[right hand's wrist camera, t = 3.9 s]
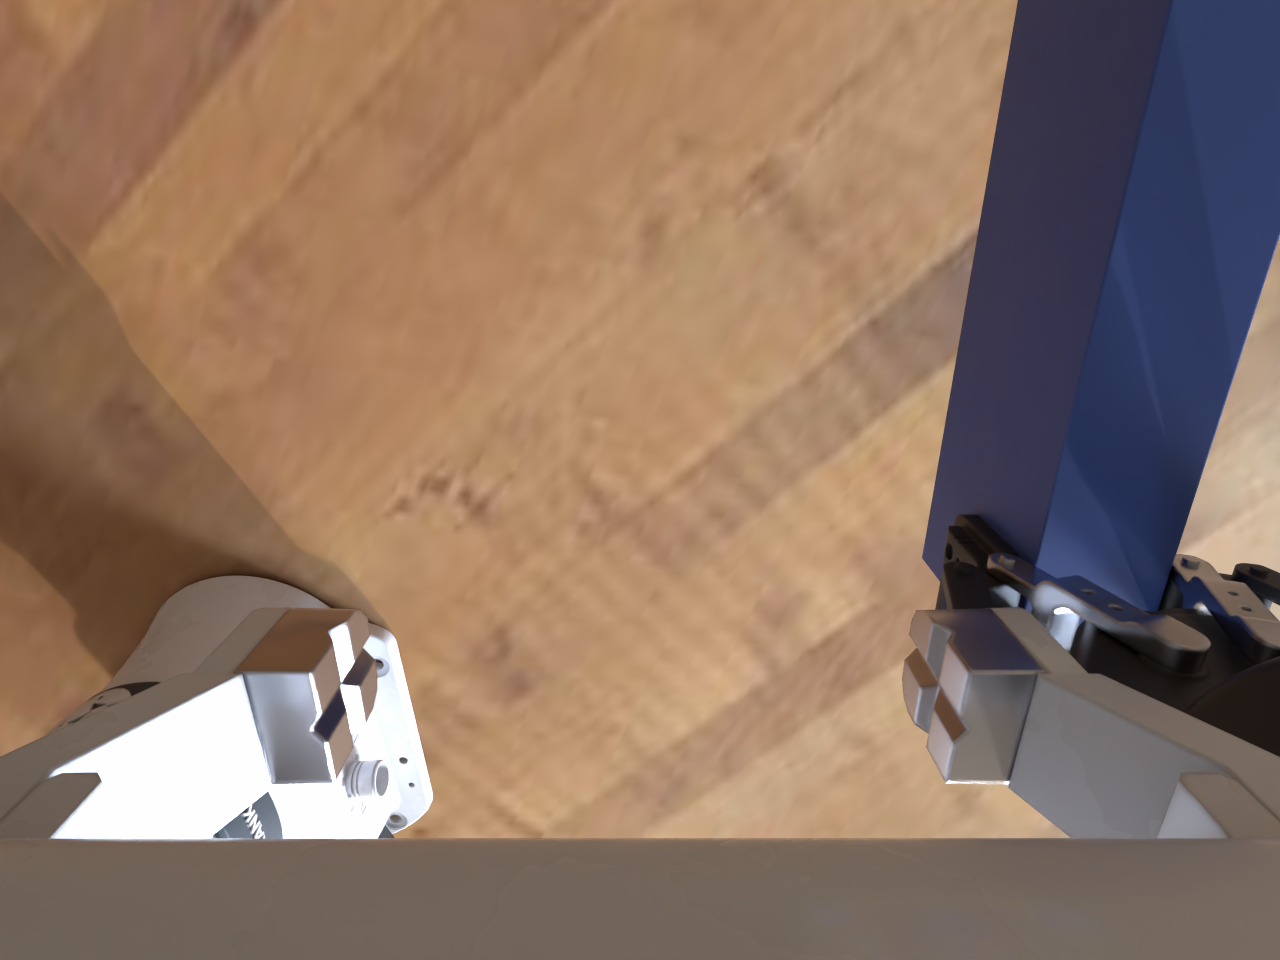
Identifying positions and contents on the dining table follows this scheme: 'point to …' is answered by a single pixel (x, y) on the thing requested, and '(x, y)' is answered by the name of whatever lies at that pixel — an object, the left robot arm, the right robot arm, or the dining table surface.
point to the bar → (1112, 281)
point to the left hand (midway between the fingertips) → (1027, 536)
